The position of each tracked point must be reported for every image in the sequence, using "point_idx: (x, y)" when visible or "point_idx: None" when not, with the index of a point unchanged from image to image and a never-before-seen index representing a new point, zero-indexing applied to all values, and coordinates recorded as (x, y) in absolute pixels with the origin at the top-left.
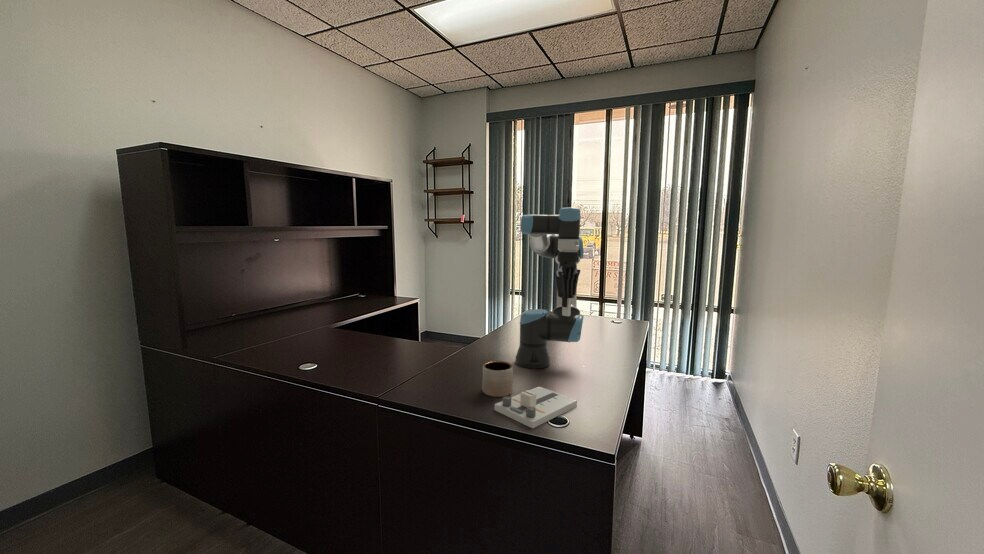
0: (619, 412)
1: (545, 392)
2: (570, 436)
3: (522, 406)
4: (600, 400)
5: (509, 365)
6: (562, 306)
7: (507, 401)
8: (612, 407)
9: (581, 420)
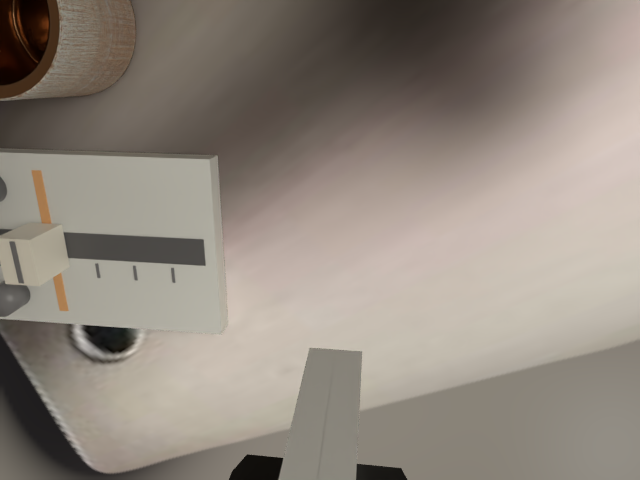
0: None
1: (182, 218)
2: (73, 394)
3: None
4: None
5: (46, 44)
6: (243, 464)
7: None
8: None
9: (163, 375)
